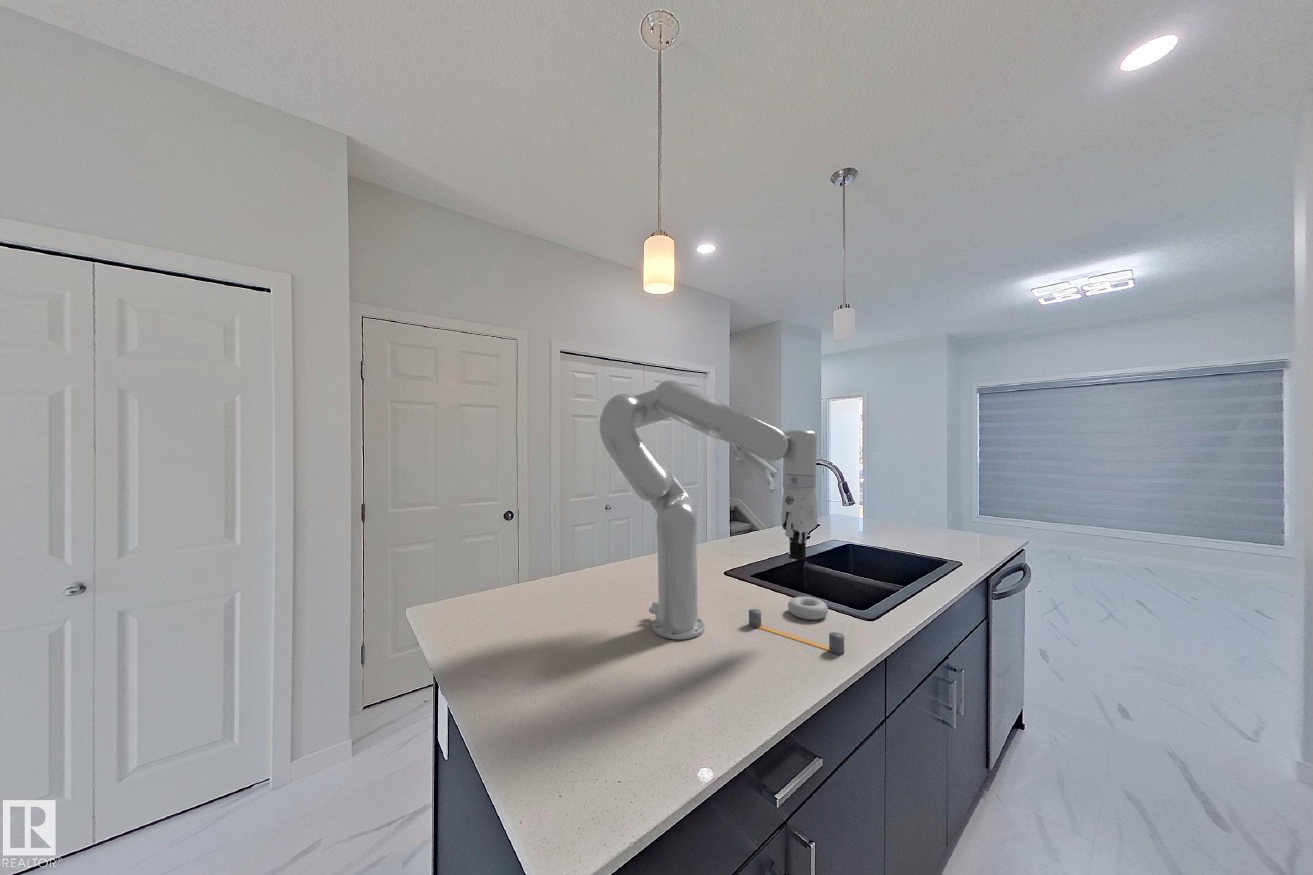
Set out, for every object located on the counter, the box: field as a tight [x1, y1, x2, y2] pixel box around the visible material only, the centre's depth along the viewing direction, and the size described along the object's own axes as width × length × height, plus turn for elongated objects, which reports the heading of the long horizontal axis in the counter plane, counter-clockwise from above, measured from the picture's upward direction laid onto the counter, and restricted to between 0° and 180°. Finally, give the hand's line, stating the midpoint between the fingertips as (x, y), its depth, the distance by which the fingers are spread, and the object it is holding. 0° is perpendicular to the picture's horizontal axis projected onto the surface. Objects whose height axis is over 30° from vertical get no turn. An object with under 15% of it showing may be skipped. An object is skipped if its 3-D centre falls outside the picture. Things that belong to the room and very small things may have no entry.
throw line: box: [748, 608, 845, 656], centre depth 103 cm, size 23×3×4 cm, turn 47°
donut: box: [787, 596, 829, 621], centre depth 116 cm, size 10×4×10 cm
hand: (797, 558), depth 106 cm, fingers closed
